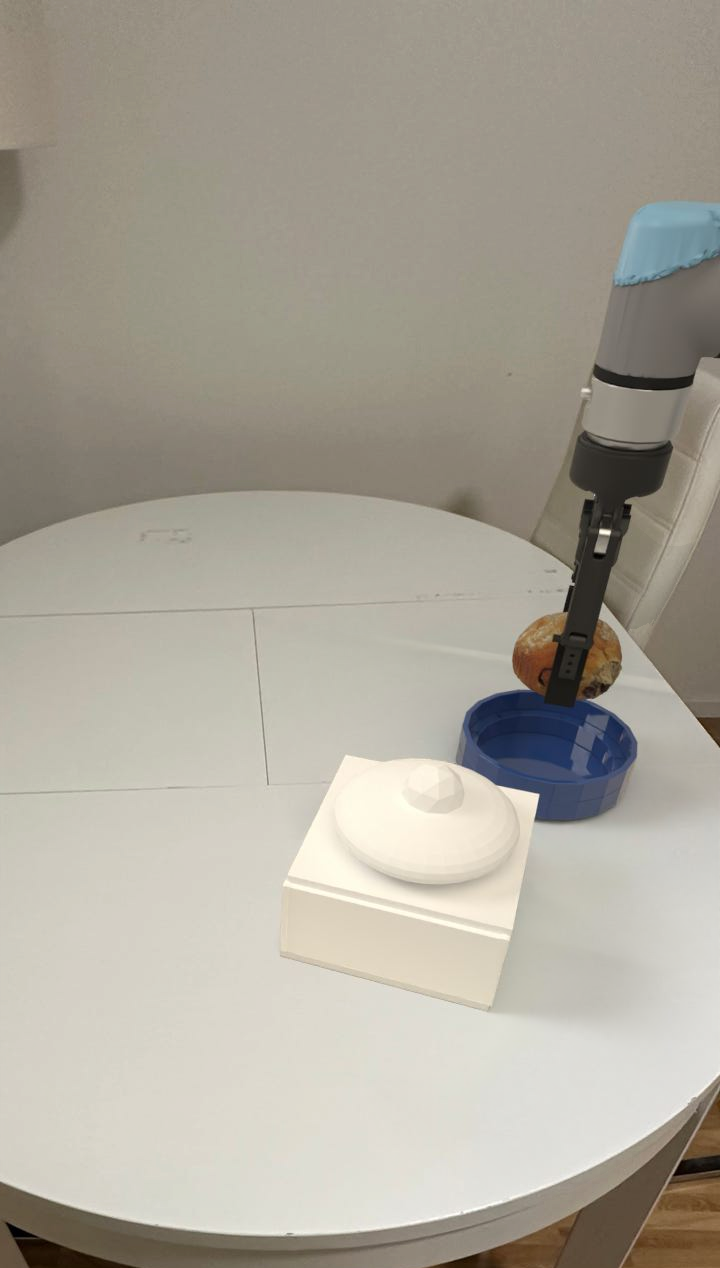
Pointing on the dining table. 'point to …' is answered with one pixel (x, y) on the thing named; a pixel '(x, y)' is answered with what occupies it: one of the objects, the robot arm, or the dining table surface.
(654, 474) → the robot arm
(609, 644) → the bread roll
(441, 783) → the white lidded square jar
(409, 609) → the dining table surface
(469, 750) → the bowl
